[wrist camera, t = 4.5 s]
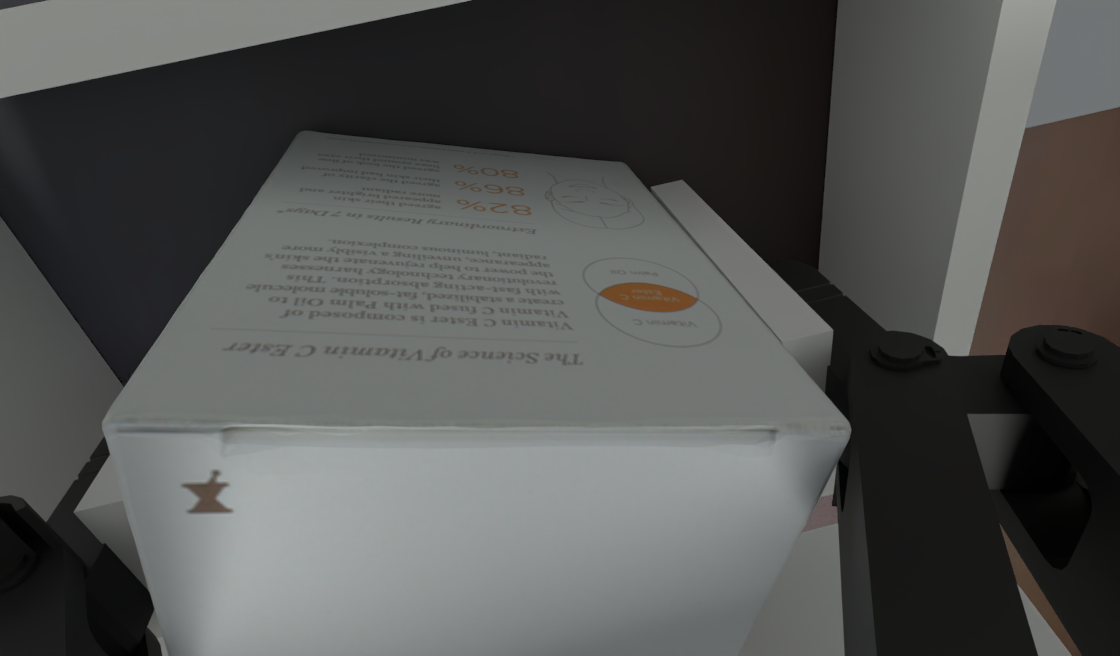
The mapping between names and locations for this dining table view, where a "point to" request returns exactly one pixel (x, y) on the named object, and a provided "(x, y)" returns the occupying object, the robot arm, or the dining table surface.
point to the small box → (464, 420)
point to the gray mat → (1078, 62)
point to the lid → (831, 606)
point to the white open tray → (328, 3)
